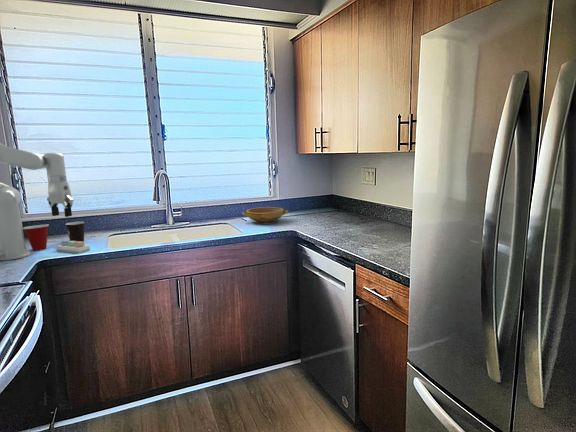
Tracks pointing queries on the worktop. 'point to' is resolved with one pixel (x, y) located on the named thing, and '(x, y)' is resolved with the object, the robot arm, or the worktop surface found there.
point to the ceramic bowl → (265, 214)
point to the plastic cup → (37, 236)
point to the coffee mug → (75, 231)
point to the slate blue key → (65, 242)
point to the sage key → (71, 243)
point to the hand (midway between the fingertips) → (62, 215)
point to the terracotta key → (79, 244)
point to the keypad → (73, 248)
